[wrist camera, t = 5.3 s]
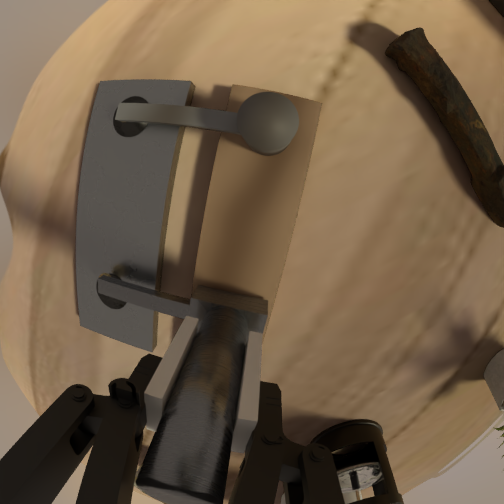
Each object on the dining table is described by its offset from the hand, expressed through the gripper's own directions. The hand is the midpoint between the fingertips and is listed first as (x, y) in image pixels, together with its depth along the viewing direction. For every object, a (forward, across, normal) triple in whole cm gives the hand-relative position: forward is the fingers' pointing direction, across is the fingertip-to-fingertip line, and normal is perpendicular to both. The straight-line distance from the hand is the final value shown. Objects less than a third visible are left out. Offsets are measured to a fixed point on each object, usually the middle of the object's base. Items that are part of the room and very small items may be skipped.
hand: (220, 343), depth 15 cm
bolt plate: (+6, -10, +4) cm, 13 cm away
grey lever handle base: (+6, -4, +4) cm, 8 cm away
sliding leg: (+4, -4, 0) cm, 6 cm away
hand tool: (+7, +16, +18) cm, 25 cm away
